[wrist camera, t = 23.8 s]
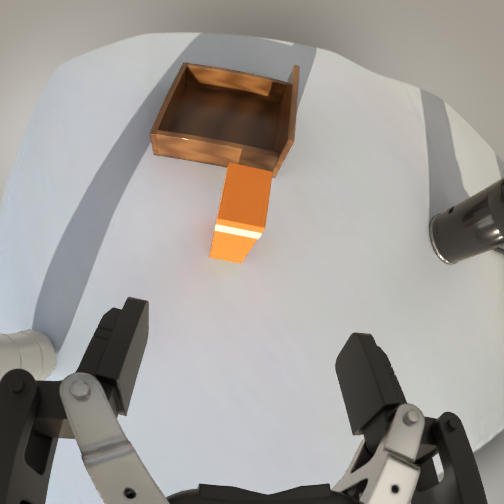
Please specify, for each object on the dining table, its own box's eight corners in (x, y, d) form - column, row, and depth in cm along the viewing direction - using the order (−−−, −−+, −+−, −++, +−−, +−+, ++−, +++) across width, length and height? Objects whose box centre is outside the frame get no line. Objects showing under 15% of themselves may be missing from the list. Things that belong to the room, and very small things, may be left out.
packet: (248, 221, 38) (273, 171, 26) (241, 263, 36) (265, 229, 24) (217, 215, 37) (228, 161, 25) (208, 257, 36) (216, 219, 24)
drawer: (283, 103, 45) (299, 66, 36) (274, 177, 41) (294, 141, 32) (182, 83, 42) (184, 43, 34) (153, 154, 38) (146, 113, 30)
